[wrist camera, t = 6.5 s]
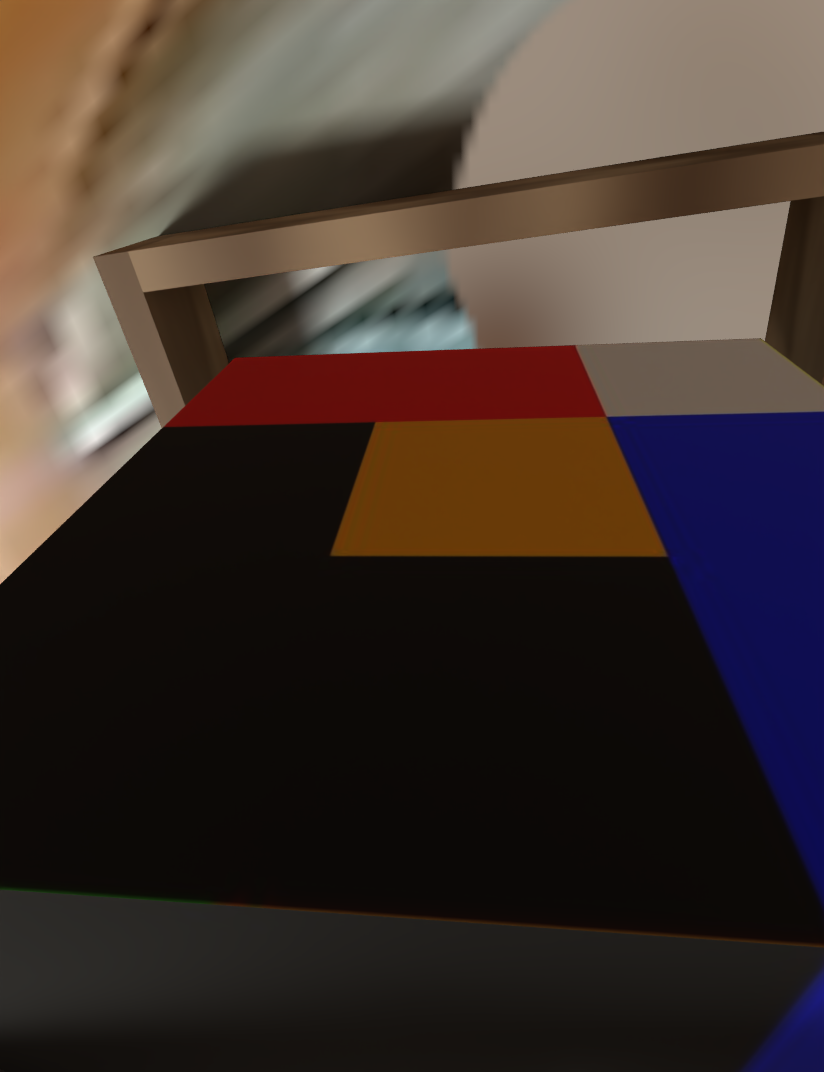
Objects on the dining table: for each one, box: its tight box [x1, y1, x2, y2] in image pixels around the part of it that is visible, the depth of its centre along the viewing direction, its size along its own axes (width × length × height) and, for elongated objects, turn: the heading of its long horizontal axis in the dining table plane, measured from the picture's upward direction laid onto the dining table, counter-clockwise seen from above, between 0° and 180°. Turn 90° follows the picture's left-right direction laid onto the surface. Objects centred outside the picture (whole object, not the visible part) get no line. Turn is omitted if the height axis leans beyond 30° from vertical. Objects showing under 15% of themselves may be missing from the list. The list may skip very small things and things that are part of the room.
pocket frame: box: [93, 132, 824, 428], centre depth 22 cm, size 23×14×4 cm, turn 98°
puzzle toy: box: [0, 338, 824, 1072], centre depth 10 cm, size 10×10×10 cm
